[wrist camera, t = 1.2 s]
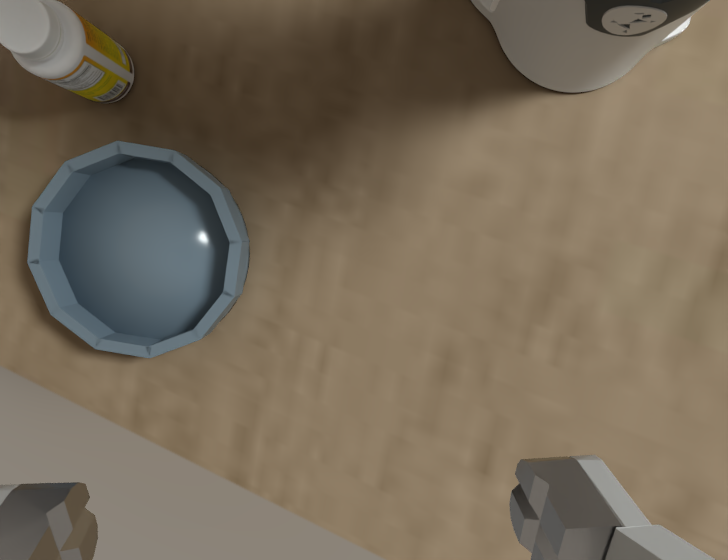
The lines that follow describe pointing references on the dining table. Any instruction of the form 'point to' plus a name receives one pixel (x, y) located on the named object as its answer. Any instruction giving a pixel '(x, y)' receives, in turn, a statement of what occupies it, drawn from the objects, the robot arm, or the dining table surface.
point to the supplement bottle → (65, 49)
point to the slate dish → (137, 249)
